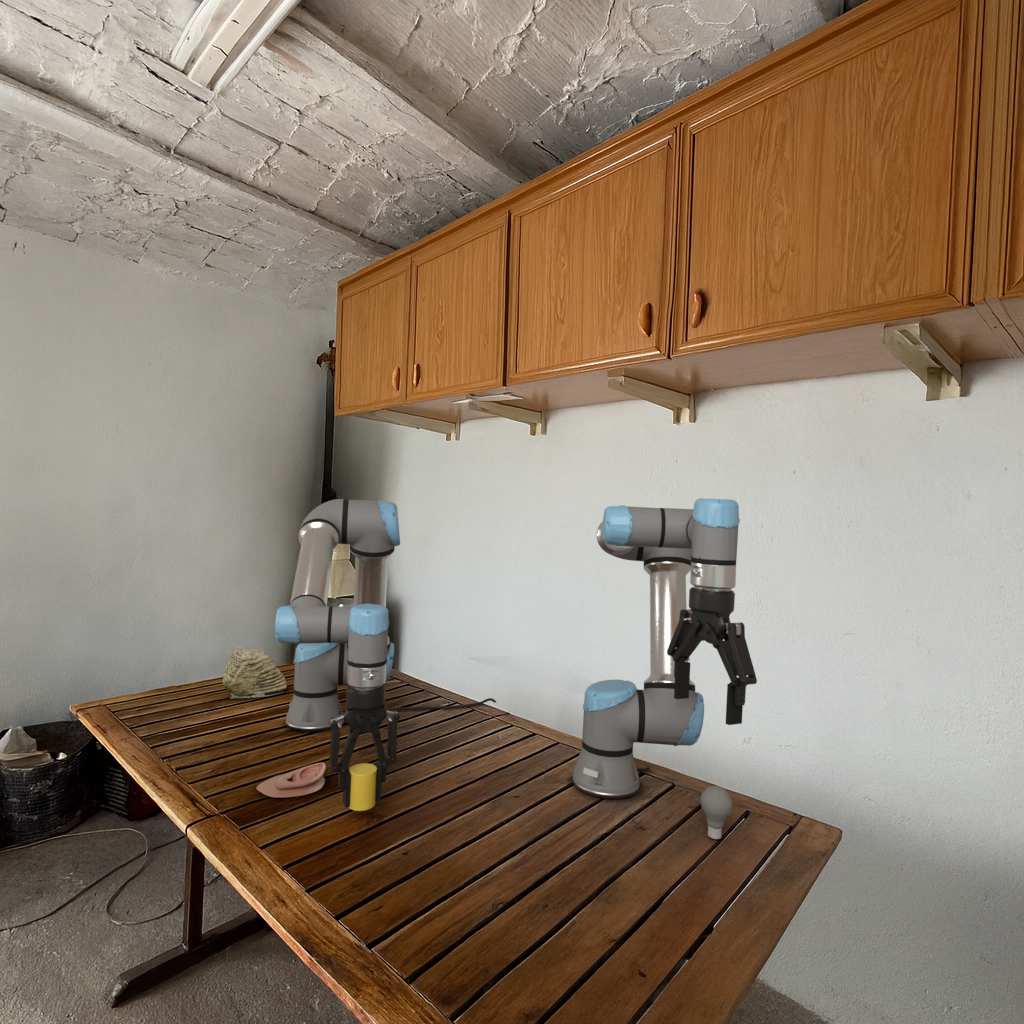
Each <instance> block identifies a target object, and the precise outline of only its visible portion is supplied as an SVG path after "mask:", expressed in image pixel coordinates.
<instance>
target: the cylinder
mask: <svg viewBox="0 0 1024 1024" xmlns="http://www.w3.org/2000/svg"><path fill="white" fill-rule="evenodd" d="M348 769H349V771H350V773H351V778H350V803H349V807H348V808H349V810H352V811H355V812H364V811H368V810H371V809H372V808H374V807H375V806H376V803H377V802H376V778H377V767H376V766H375V764H373V763H367V762H366V763H365V762H362V763H356V764H353V765H352V766H350V767H349V768H348Z"/></svg>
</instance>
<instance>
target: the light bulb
mask: <svg viewBox="0 0 1024 1024" xmlns="http://www.w3.org/2000/svg"><path fill="white" fill-rule="evenodd" d="M699 802H700V808H701V809H702V810H703V814H704V815H705V818H706V820H705V821H706V823H707V836H708V837H709V838H711V839H712V840H720V839H721V838H722V835H723V834H722V833H723V832H722V831H723V830H722V829H723V827H724V825H725V821H726V819H727V818H728V817H729V816H730V814H731V812H732V809H733V804H734V803H733V800H732V797H731V795H730V793H729V792H728V791H727V790H726V789H725V788H724V787H722V786H719V785H710V786H707V787H706V788H705V789H704V790H703V791H702V792H701V795H700V798H699Z"/></svg>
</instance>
